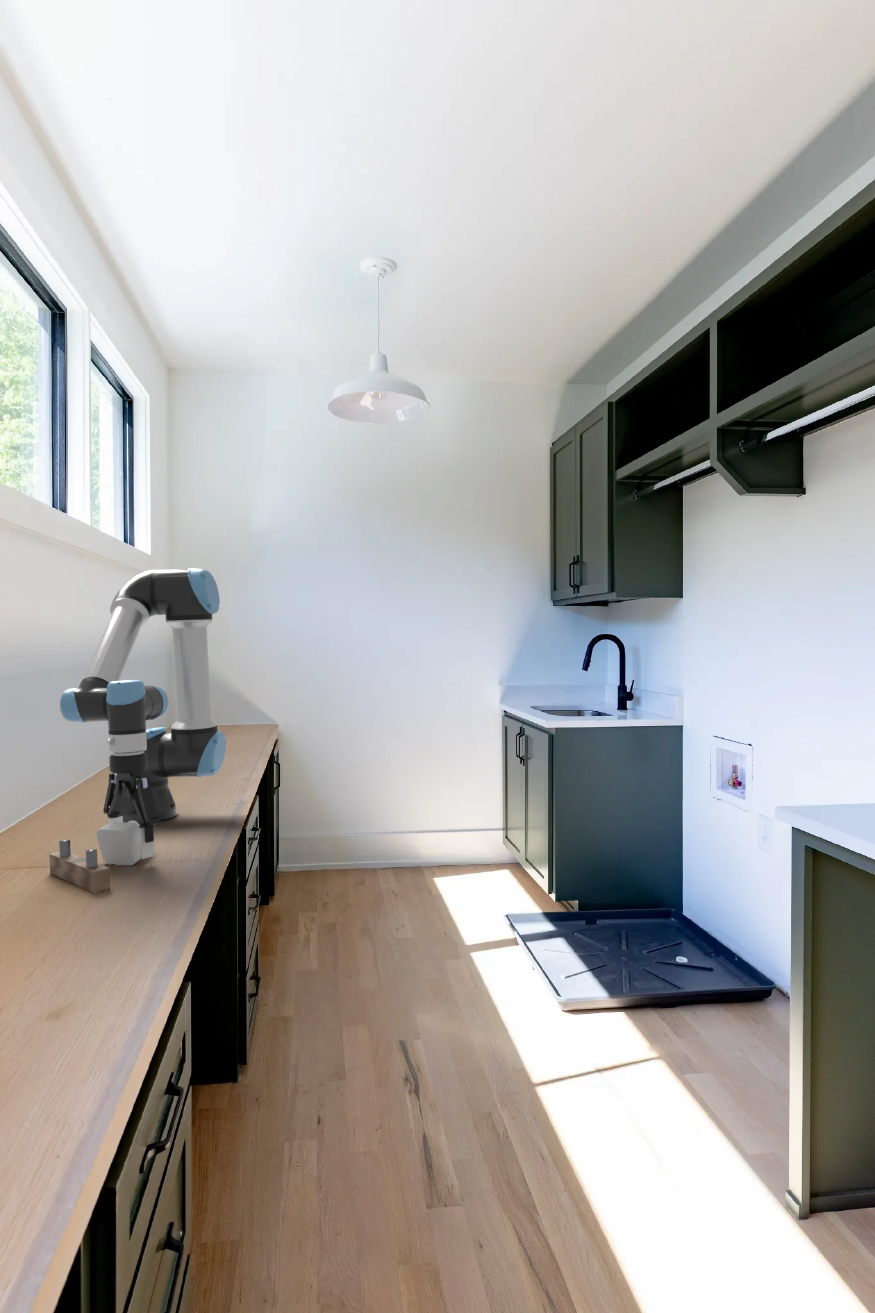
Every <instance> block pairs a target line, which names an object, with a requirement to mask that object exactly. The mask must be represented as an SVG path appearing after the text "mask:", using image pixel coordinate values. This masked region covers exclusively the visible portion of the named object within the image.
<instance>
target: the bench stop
mask: <svg viewBox="0 0 875 1313" xmlns="http://www.w3.org/2000/svg"><path fill="white" fill-rule="evenodd" d="M58 845H59V851H57V852H52V853H48V854H49V873H50V875H53V876H55V877H57V878H60V879H61V880H64V881H67V882H68V883H71V884H73V885H76V886H77V887H80V888H82V889H85V888H86V889H85V890H87V891H89V890H90V891H89V892H91V893H94V894H95V893H99V892H103V890H104V891H106V890H110V889H111V880H110V879H111V876H110V872H111V871H110V867H109V866H105V865H103V864H100V863H99V862H98V849H96V848H91V849H89V848H88V849H86V850H85V857H82V856H79V855H77V854H74V853H71V839H61V840H58ZM109 888H110V889H109Z"/></svg>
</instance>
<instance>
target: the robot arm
mask: <svg viewBox="0 0 875 1313" xmlns="http://www.w3.org/2000/svg"><path fill="white" fill-rule="evenodd" d="M220 602H221V601H220V592H219V588H218V585H217V581H216V580H215V578H214V576H213V574H212V573H211V572H210V571H209V570H207V569H203V568H192V567H191V568H181V569H180V568H179V569H178V568H177V569H151V570H147V571H143V572H142V573H139V574H137V575H135V576H134V577H132V579H130V580H129V581H128V582H126V583H125V584H124V585H123V586H122V587H121V588H120V589H119V591H118V592H117V593H116V594H115V596H114V598H113V599H112V602H111V604H110V607H109V613H110V617H109V619H108V621H107V624H106V626H105V628H104V630H103V633H102V635H101V637H100V640H98V644H97V645H96V648H95V650H94V653H93V654H92V657H91V660H89V661H90V662H89V663H88V666H87V669H86V670H85V672H84V675H83V677H82V679H81V681H80V684H79V685H78V687H77V688H76V687H72V688H68V689H66V690H65V691H63V692H62V694H61V695H60V696H61V697H60V698H59V699H60V700H59V709H60V710H59V711H60V713H61V715H62V717H63V719H64V720H66V721H68V722H76V723H87V722H88V723H89V722H107V724H108V739H107V744H108V751H109V753H111V754H110V756H109V758H108V759H109V762H108V763H109V771H110V773H108V786H107V790H106V795H105V799H104V805H103V809H102V810H103V813H104V815H107V818H109V819H108V821H109V822H124V823H127V822H129V821H136V822H137V823H138V824H139V825H140V826H139V828H140V854H141V859H140V860H145V859H148V858H153V857H155V855H156V854H155V853H156V852H155V833H154V832H155V831H154V830H155V829H154V826H155V825H158V824H160V822H162V821H165V820H169V819H171V818H174V817H175V816H177V804H176V802H175V800H174V797H173V795H172V791H171V789H170V787H169V786H170V785H169V778H183V777H184V778H188V777H191V778H192V777H195V778H196V777H198V778H202V777H211V776H212V777H213V776H215V775H217V774H218V773H219V771H220V770H221V768H222V766H223V764H224V761H225V757H226V749H227V748H226V747H227V739H226V735H225V733H224V731H223V732H222V731H221V730H218V723H217V722H216V721H215V720H213V718H212V716H211V714H212V713H211V712H212V711H211V692H210V691H211V688H210V671H209V647H208V627H209V625H210V623H212V622H213V615H214V614H216V613H218V611H219V609H220ZM161 615H162V616H165V623H167V625H168V626H170V627H171V629H172V648H173V669H174V671H173V672H174V687H175V688H174V690H175V710H176V721H175V722H174V723H173V724H172V725H171V727H170V728H171V730H170V732H168V730H167V727H165V726H162V727H160V726H159V727H152V728H147V723H146V722H147V721H150V720H151V721H152V720H155V719H157V718H159V717H161V716H163V715H164V713H165V712H167V710H168V707H169V698H168V695H167V693H166V692H165V690H163V689H162V688H161V687H159V686H155V685H145V683H144V681H142V680H140V679H125V680H120V679H121V676H122V674H123V672H124V669H125V667H126V665H127V662H128V659H129V658H130V655H131V652H132V650H133V648H134V645H135V642H136V639H137V637H138V635H139V632H140V631H141V628H142V627H143V626H144V625H147V623H148V622H149V620H150V618H151V617H152V616H153V617H154V616H161ZM109 822H108V823H109Z"/></svg>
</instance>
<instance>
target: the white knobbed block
mask: <svg viewBox="0 0 875 1313" xmlns="http://www.w3.org/2000/svg"><path fill="white" fill-rule="evenodd" d="M140 825H141V824H140V823H137V822H136V821H129V822H127V823H124V822H108V823H106V824H105V825H103V826H102V827H101V828H99V829H98V830H97V831H96V836H97V841H98V845H99V850H100V855H101V858H102V861H103V862H104V863H105V864H107V865H111V864H115V865H114V866H123V865H132V866H134V864H136V863H138V862H139V861H140V860H142V859H141V854H140V828H139V826H140Z"/></svg>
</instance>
